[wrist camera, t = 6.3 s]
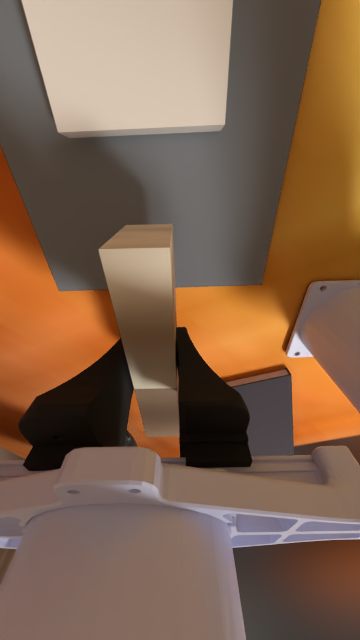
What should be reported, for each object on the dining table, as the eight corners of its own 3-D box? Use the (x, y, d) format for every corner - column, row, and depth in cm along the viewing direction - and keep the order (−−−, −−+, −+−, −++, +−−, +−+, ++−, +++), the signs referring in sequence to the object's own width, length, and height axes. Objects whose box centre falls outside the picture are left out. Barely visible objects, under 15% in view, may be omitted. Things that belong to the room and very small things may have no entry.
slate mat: (369, -267, 6) (386, -308, 6) (258, 281, 16) (261, 284, 15) (-140, -237, 6) (-168, -275, 6) (62, 288, 16) (59, 291, 16)
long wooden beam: (179, 385, 19) (179, 436, 15) (152, 386, 19) (146, 436, 15) (172, 223, 11) (169, 247, 7) (126, 224, 11) (98, 249, 7)
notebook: (289, 449, 33) (284, 363, 22) (294, 460, 32) (291, 374, 21) (215, 460, 35) (176, 388, 24) (216, 471, 34) (176, 399, 23)
